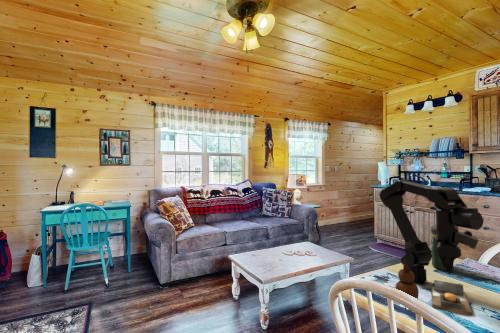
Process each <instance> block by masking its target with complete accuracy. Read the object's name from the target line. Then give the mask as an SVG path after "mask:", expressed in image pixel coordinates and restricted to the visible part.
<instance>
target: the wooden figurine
mask: <svg viewBox="0 0 500 333" xmlns="http://www.w3.org/2000/svg"><path fill="white" fill-rule="evenodd" d="M402 266H403V268H402V269H400V270H399V271H398V273H397V275H398V279H399V280H398V281H397V282H396V284H395V286H394V287H395V288H396V289H398V290H401V291H403V292H405V293H407V294H409V295H411V296H413V297H415V298H417V300H418V299H419V288H418V286H417V283H415V282H413V281H414V278H415V277H414V273H413V272H412V271H410V270H409V269H408V265H407V263H406V261H404V264H403V265H402ZM395 288H394V289H395Z"/></svg>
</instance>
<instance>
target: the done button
mask: <svg viewBox="0 0 500 333" xmlns="http://www.w3.org/2000/svg"><path fill="white" fill-rule="evenodd" d="M445 299H446V300H447V301H451V302H456V295H454V294H452V293H445Z"/></svg>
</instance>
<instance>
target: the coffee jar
mask: <svg viewBox="0 0 500 333" xmlns="http://www.w3.org/2000/svg"><path fill="white" fill-rule="evenodd" d="M435 235H437V230H436V224H433V225H432V226H431V228H430V236H431V238H430V240H431V242H430V243H431V244H430V245H431V247H430V248H431V251H432V252H431V254H432V258H431V265H432V267H433V268H435V269H439V270H442V271H446V270H445V268H444V266H443V263H442V261H441V259H440V257H439V255H438V253H437V245H436V241H435ZM453 270H454V266H453V267H452V271H453Z"/></svg>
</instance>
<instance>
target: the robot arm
mask: <svg viewBox="0 0 500 333" xmlns="http://www.w3.org/2000/svg"><path fill="white" fill-rule="evenodd" d="M406 193H409V194H414V195H416V196H420V197H424V198H426V199H427V200H428V201H429V202H431V203H433V205H432V206H430V207H429V209H430V210H431V211H432V210H433V211H435V222H436V223H435V225H436V230H437V235H435V241H436V245H437V253H438V255H439V257H440V259H441V261H442V263H443V266H444V268H445V270H444V271H445V272H446V273H447V274H451V273H452V271H453V270H452V267H453V268H454V263H455V260H457V259H459V258H461V257H462V249H461V247H460V246H458V245H460V244H461V245H465V246H467V247H469V249H470V248H471V249H473V250H476V248H477V245H478V244H479V239H478V237H476V236H473V232H472V231H469V230H474V231H478V230H480V229H481V228H483V226H484V220H485V219H484V217H483V216H482V214H481V213H480V212H479V208H477V207H468V206H467V204H466V203H465V202H464V201H463V199H462V198H461V196H460V194H459V193H458V191H457V190H456V189H455V188H454V187H453V188H452V187H432V186H428V185H426V184H425V185H424V184H421V183H417V182H413V181H409V180H408V179H402V180H401V179H400V180H395V182H394V183H392V184H390V185H389V186H387V187H385V188H383V189H381V190H380V192H379V199H380V200H381V202H382V204H383V205H384V206H385V207H386V208H388V210H390V212H391V213H392V214H391V215H392V216H393V218H394V221H395V223H396V226H397V228H398V229H399V231H400V235H401V236H402V238H403V240H404V253H405V255H403V256H402V257H401V258H400V262H401V265H402V266H403V264H404V261H406V263H407V265H408V269H409V270H410V271H412V272H413V273H414V277H415V278H414V281H413V282H415V284H416V285H417V284H418V285H422V286H424V285H426V282H427V281H428V280H427V269H426V268H425V266H429V264H430V263H431V262H432V249H430V246H429V244H428V242H427V241H421V240H420V239H419V237H418V236H417V234H416V231H415V230H414V227H413V225H412V223H411V221H410V219H409V217H408V215H407V212H406V211H405V209H404V206H403V204H404V197H403V196H405V194H406ZM458 227H460V228H465V229H466V230H464V231H460V230H459V229H458ZM467 229H469V230H467Z"/></svg>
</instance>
